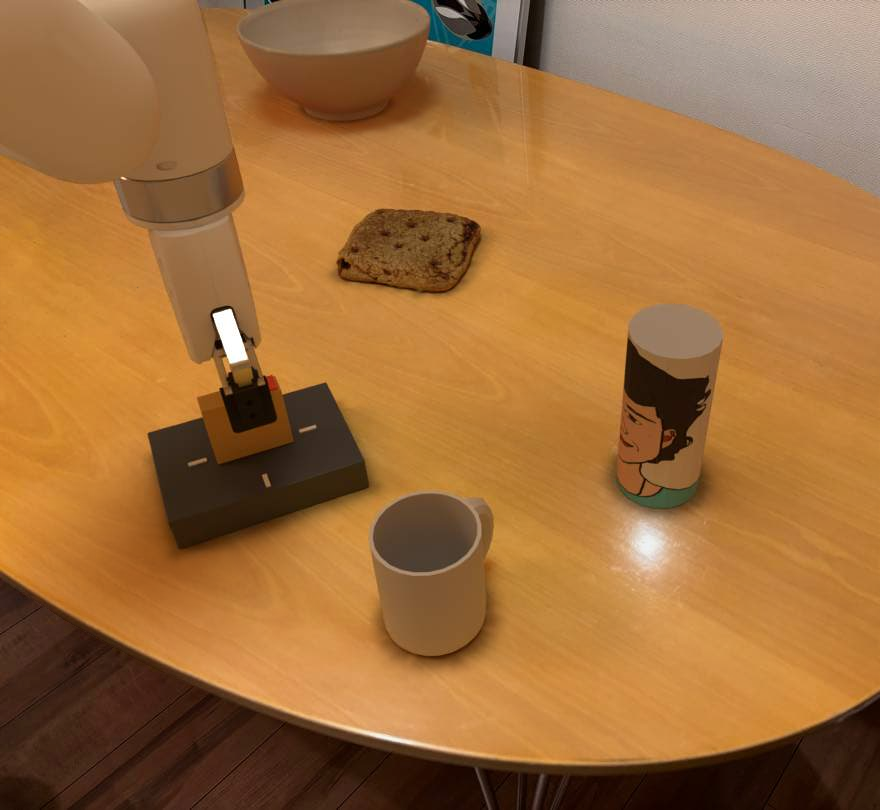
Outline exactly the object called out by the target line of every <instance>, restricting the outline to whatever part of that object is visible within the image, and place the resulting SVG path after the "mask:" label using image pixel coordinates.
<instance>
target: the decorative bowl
mask: <svg viewBox="0 0 880 810" xmlns="http://www.w3.org/2000/svg"><path fill="white" fill-rule="evenodd" d="M430 28H431V16H430V13H429V12H428V11H427V9H425V7H423V6H422V5H420V4H419V3H416V2H414V1H412V0H277V1H273V2H271V3H268V4H267V3H266V4H265V5H262V6H259V7H257V8H255V9H254V10H251V11H250V12H248V13H246V14H245V15H243V17H241V19H239V21H238V22H237V24H236V26H235V34H236V37H237V40H238V41H239V44H240V46H241V48H242V50H243V51H244V54H245V55H246V56H247V58H248V59H249V61H250V63H251V64H252V65H253V66H254V68H255V70H256V71H257V72H258V74H259V75H260V76H261V77H262V78H263V79H264V80H265V81H266V82H267V84H268V85H270V86H271V87H272V88H273V89H274V90H275V91H276V92H278V93H279V94H280V95H282V96H283V97H285V98H286V99H288V100H289V101H291V102H293V103H295V104H297V105H299V106H301V107H303V108H304V111H305V112H306V113H307V114H308V115H310V116H311V117H313V118H316V119H319V120H325V121H333V122H334V121H335V122H342V121H343V122H344V121H355V120H361V119H366V118H369V117H372V116H374V115H376V114H378V113H380V112H382V111H384V109H386V107H387V106H388V105H389V99H391V98H392V97H394V96H395V95H397V93H398V92H400V91H401V90H402V89H403V88H404V87H405V86H406V84H407V83H408V82H409V80H410V79H411V78H412V76H413V75H414V73H415V72H416V70H417V68H418V66H419V64H420V62H421V60H422V58H423V56H424V52H425V50H426V46H427V42H428V38H429V34H430Z"/></svg>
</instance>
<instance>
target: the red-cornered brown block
mask: <svg viewBox="0 0 880 810" xmlns="http://www.w3.org/2000/svg"><path fill="white" fill-rule="evenodd" d="M265 376H266V378H267V381H268V385H269V389H270V393H271V396H272V400H273V404H274V407H275V411H276V415H277V420H276V421H275V422H274V423H271V424H268V425H264V426H261V427H258V428H255V429H251V430H248V431H245V432H241V433H234V432H233V430H232V427H231V424H230V421H229V418H228V415H227V412H226V408H225V405H224V402H223V399H222V396H221V393H220V390H218V391H215V392H211V393H207V394H203V395H200V396H197V397H196V401H197V404H198V407H199V410H200V413H201V416H202V417H203V420H204V423H205V426H206V429H207V432H208V435H209V438H210V441H211V444H212V447H213V450H214V453H215V456H216V459H217V462H218V464H222V463H226V462H229V461H232V460H236V459H239V458H242V457H245V456H249V455H252V454H255V453H259V452H262V451H265V450H268V449H272V448H275V447H278V446H282V445H285V444H288V443H292V442H293V441H294V440H293V436H292V432H291V428H290V424H289V420H288V416H287V412H286V408H285V404H284V400H283V396H282V395H283V392H282V391H283V390H282V388H281V387H280V384H279V381H278V379H277V377H276V376H275V375H273V374H270V375H265ZM202 417H201V418H202Z"/></svg>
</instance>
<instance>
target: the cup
mask: <svg viewBox="0 0 880 810" xmlns="http://www.w3.org/2000/svg"><path fill="white" fill-rule="evenodd" d="M492 511H493V510H492V508H491V507H490V506H489V505H488V503H487V502H486V501H485V500H484V498H482V497H469V496H468V497H466V498H462V497H461V496H458V495H456V494H453V493H450V492H447V491H442V490H441V491H440V490H420V491H419V490H418V491H415V492H409V493H406V494H404V495H402V496H399V497H397V498H394V499H393V500H392V501H390V502H389V503H386V505H384V506H383V507H382V508H381V509H380V510H379V512H378V513H377V514H376V515H375V516H374V518H373V520H372V522H371V524H370V526H369V532H368V543H369V548H370V554H371V560H372V565H373V571H374V575H375V576H374V577H375V581H376V587H377V592H378V596H379V603H380V608H381V613H382V617H383V623H384V626H385V629H386V632H387V633H388V635H389V637H390V638H391V640H392V641H393V642H394V643H395V644H396V645H398V647H400V648H401V649H403V650H405V651H407V652H409V653H411V654H415V655H419V656H425V657H439V656H443V655H448V654H451V653H452V654H453V653H454V652H455V651H458V650H460V649H462V648H464V647H465V646H467V645H468V644H469V643H470V642H471V641H472V640H474V638H476V637H477V635H478V634H479V632H480V631H481V630H482V628H483V625H484V622H485V620H486V617H487V616H486V615H487V593H486V592H487V591H486V575H485V573H486V572H485V559H486V557H487V555H488V552H489V550H490V548H491V544H492V541H493V538H494V537H493V536H494V530H495V529H494V528H495V524H494V523H495V521H494V515H493V512H492Z"/></svg>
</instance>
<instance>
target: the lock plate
mask: <svg viewBox="0 0 880 810" xmlns="http://www.w3.org/2000/svg"><path fill="white" fill-rule="evenodd" d="M282 396H283V400H284V404H285V408H286V412H287V416H288V420H289V424H290V428H291V432H292V436H293V440H294V441H293V442H292V443H288V444H285V445H282V446H278V447H275V448H272V449H268V450H265V451H262V452H259V453H255V454H252V455H249V456H245V457H242V458H239V459H236V460H232V461H229V462H226V463H222V464H218V462H217V459H216V456H215V453H214V450H213V447H212V444H211V441H210V438H209V435H208V432H207V429H206V426H205V423H204V420H203V417H199V418H195V419H192V420H188V421H184V422H180V423H177V424H174V425H171V426H167V427H163V428H160V429H156V430H152V431H149V432H147V438H148V443H149V447H150V451H151V455H152V460H153V464H154V469H155V473H156V477H157V481H158V485H159V490H160V495H161V498H162V503H163V508H164V511H165V516H166V520H167V524H168V527H169V529H170V532H171V534H172V536H173V540H174V541H175V544H176V546H177V549H178V550H181V549H185V548H188V547H190V546H193V545H196V544H200V543H203V542H206V541H209V540H212V539H215V538H218V537H221V536H224V535H227V534H230V533H233V532H236V531H239V530H243V529H245V528H248V527H252V526H254V525H257V524H261V523H264V522H266V521H269V520H272V519H276V518H279V517H280V516H281V517H282V516H285V515H288V514H290V513H294V512H296V511H299V510H303V509H306V508H308V507H311V506H315V505H318V504H320V503H323V502H327V501H330V500H333V499H335V498H339V497H342V496H345V495H349V494H352V493H354V492H357V491H360V490H364V489H366V488H368V487H369V488H370V483H369V478H368V471H367V466H366V461H365V458H364V455H363V454H362V452H361V450H360V448H359V446H358V444H357V442H356V440H355V438H354V436H353V434H352V432H351V430H350V427H349V425H348V424H347V422H346V419H345V417H344V415H343V413H342V411H341V409H340V408H339V405H338V403H337V401H336V399H335V397H334V395H333V393H332V391H331V389H330V387H329V385H328V383H327V382H326V381H325V382H322V383H318V384H315V385H312V386H307V387H304V388H300V389H297V390H294V391H290V392H287V393H282Z"/></svg>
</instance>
